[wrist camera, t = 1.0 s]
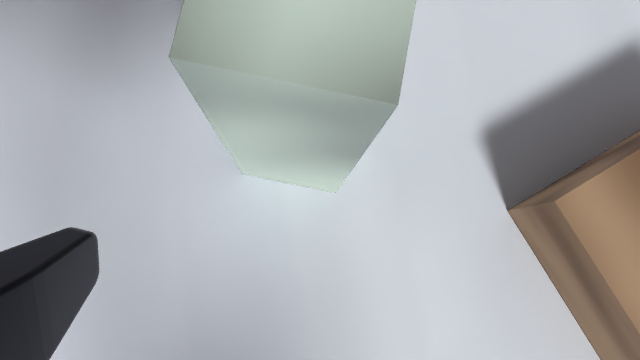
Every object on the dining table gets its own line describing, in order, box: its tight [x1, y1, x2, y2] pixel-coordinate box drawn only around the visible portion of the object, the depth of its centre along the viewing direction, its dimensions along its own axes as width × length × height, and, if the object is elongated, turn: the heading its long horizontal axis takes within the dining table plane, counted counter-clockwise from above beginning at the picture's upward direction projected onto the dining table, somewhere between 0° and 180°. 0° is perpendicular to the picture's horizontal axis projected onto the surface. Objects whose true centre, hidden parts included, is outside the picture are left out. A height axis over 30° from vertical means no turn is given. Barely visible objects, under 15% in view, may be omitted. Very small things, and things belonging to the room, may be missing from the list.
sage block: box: [169, 0, 416, 193], centre depth 16 cm, size 4×4×13 cm
